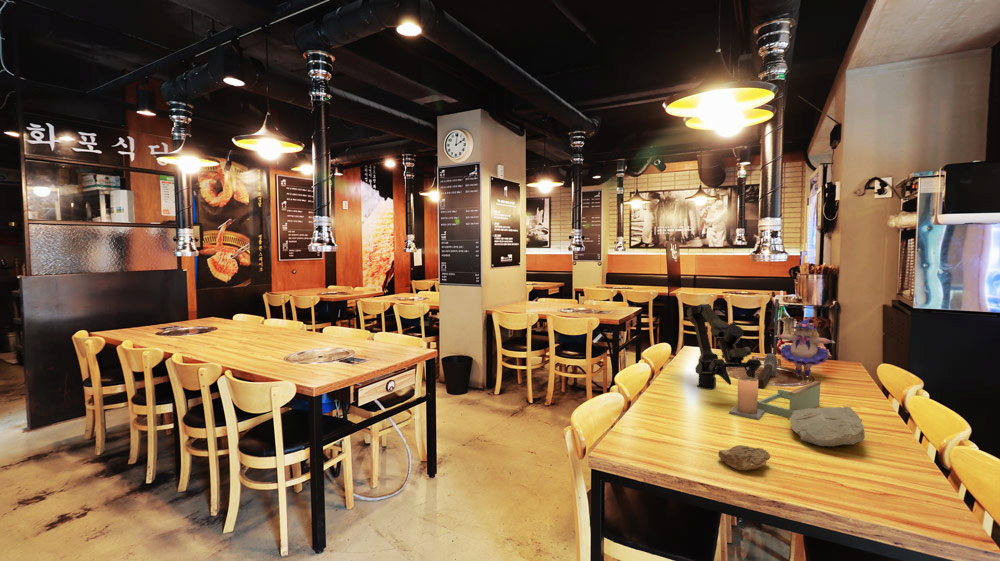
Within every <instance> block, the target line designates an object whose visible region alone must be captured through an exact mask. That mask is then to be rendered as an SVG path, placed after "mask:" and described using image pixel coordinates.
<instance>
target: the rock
mask: <svg viewBox="0 0 1000 561" xmlns="http://www.w3.org/2000/svg"><path fill="white" fill-rule="evenodd" d="M718 458H719V460H721V461H722V462H723V463H725V464H726V465H727V466H729V467H731V468H732V469H735V470H737V471H749V470H755V469H759V468H762V467H764V466H766V465H767V461H768V460H770V459H771V458H772V457H771V455H770V453H769V451H767V450H766V449H764V448H762V447H753V446H749V445H748V446H746V445H741V444H739V445H735V446H732V447H731V448H727V449H721V450H719V451H718Z"/></svg>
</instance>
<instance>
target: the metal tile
mask: <svg viewBox="0 0 1000 561" xmlns="http://www.w3.org/2000/svg"><path fill="white" fill-rule="evenodd" d="M728 412H729V413H728V414H729V415H733V416H737V417H743V418H746V419H752V420H756V421H759V420H760V419H762V417H763V416H764V414H765V413H766V412H765V410H760V409H757V413H756V414H747V413H742V412H740V411H738V410H737V404H736V405H734V407H732V408H731V409H730V410H729V411H728Z"/></svg>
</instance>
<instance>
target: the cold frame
mask: <svg viewBox="0 0 1000 561" xmlns="http://www.w3.org/2000/svg"><path fill="white" fill-rule="evenodd" d="M821 385H822V382H821V381H818V380H815V381H812V382H810V383H808V384H806V385H803V386H801V387H799V388H796V389H794V390H792V391H788V390H784V389H780V388H779V389H777V393H774V394H771V395H769V396H768V397H767V396H766V397H764V398H762V399H760V400H759V399H758V404H757V409H760V410H765V413H770V414H773V415H776V416H780V417H785V418H788V419H790V417H791V415H792V412H793V410H802V409H806V408H819V406H820V401H821V399H820V397H821V395H820V394H821ZM779 398H783V399H787V400H789V408H785V407H782V406H778V405H773V404H770V403H769V402H772V401H774V400H777V399H779Z"/></svg>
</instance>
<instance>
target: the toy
mask: <svg viewBox="0 0 1000 561" xmlns="http://www.w3.org/2000/svg"><path fill="white" fill-rule="evenodd" d="M811 320H812V317H809V318H806V319H804V320H802V321H797V326H793V327H792V326H791V327H790V328H792V329H795V331H793V333H791V334H789V333H788V334H786V333H785V334H784V333H782V334H776V335H774V338H777V339H778V338H779V339H781V340H785V341H786V340H787V341H791V342H792V343H791V344H785V345H782V347H781V349H780V353H781V355H780V357H781V358H782V359H783V360H784V361H786V362H789V363H790V364H791V363H793V364H794V366H795V372H796V377H799V376H802V371H804V374H805V376H808V377H810V374H811V373H812V372H811V371H812V370H811V368H812V367H814V366H819V365H823V364H824V363H826V362H827V359H829V357H830V356H829V350H827V349H825V348H821V347H822V346H821V347H820V345H821V344H822V345H823V344H824V345H827V344H836V342H835V340H833V339H831V340H830V339H829V338H828V339H827V338H825V337H820V333H818V330H819V328H815V324H814V323H812V322H810V321H811ZM802 367H803V368H802ZM798 375H799V376H798Z"/></svg>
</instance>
